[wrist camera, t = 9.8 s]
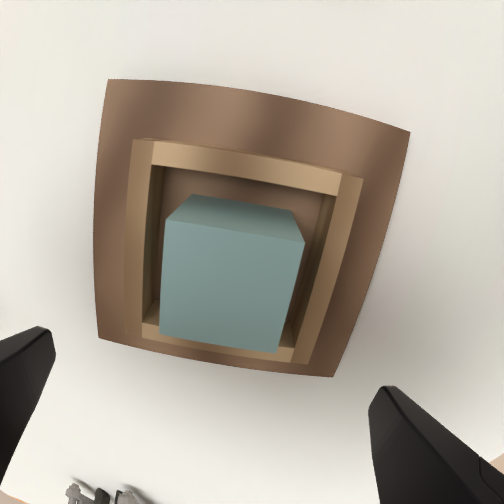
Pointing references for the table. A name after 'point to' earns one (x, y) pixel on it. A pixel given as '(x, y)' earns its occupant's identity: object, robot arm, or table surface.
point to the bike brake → (98, 497)
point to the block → (228, 272)
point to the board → (245, 190)
